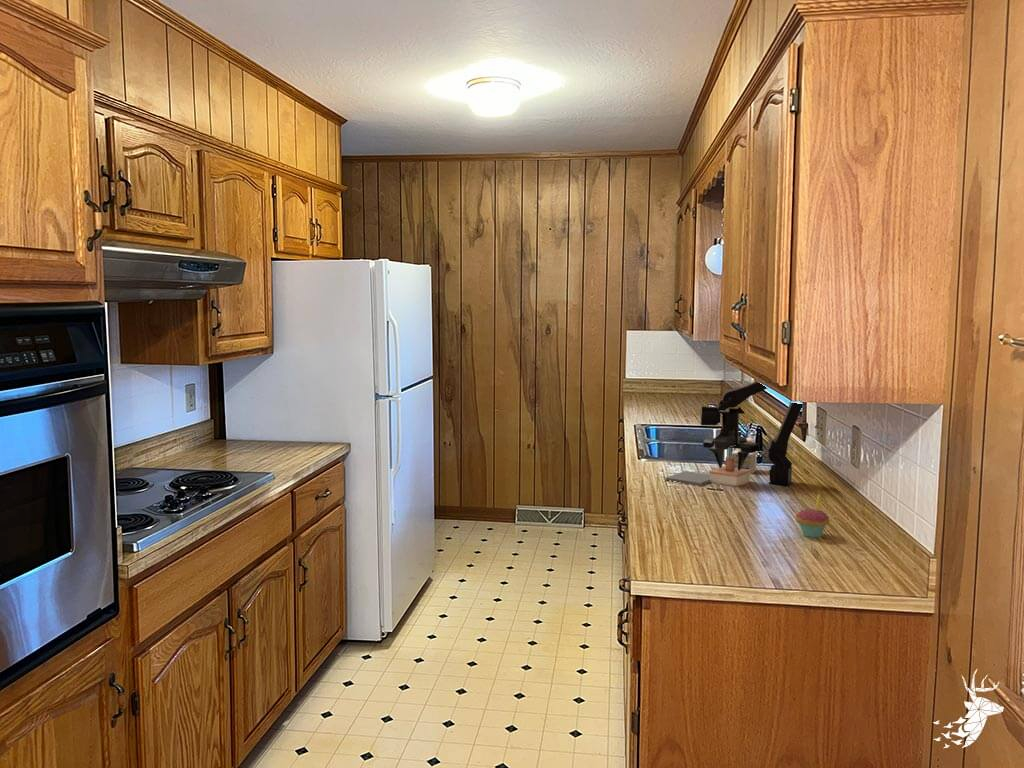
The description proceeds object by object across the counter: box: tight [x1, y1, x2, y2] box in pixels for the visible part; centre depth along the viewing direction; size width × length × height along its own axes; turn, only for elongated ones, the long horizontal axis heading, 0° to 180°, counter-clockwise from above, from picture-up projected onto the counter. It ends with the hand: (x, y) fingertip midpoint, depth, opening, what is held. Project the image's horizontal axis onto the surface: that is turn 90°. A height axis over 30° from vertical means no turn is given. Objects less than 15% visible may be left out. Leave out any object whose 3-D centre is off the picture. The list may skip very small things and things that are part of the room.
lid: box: [708, 456, 750, 477], centre depth 271 cm, size 11×11×5 cm
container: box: [731, 436, 758, 475], centre depth 288 cm, size 8×8×13 cm
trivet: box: [665, 470, 711, 487], centre depth 276 cm, size 14×14×1 cm
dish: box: [709, 473, 750, 487], centre depth 271 cm, size 10×10×4 cm
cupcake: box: [795, 491, 830, 538], centre depth 208 cm, size 9×8×12 cm
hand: (729, 469), depth 271 cm, fingers open, 7 cm apart
